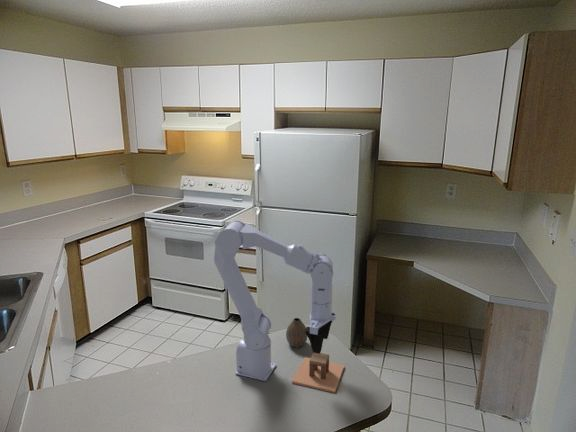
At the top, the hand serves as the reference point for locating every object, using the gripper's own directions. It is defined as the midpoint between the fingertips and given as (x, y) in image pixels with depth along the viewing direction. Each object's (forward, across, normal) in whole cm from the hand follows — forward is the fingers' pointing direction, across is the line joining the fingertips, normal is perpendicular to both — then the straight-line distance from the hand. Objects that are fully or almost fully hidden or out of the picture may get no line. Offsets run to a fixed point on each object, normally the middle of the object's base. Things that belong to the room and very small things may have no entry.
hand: (320, 345), depth 111 cm
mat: (+9, 0, 0) cm, 9 cm away
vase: (+10, +13, +11) cm, 20 cm away
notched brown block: (+9, 0, 0) cm, 9 cm away
